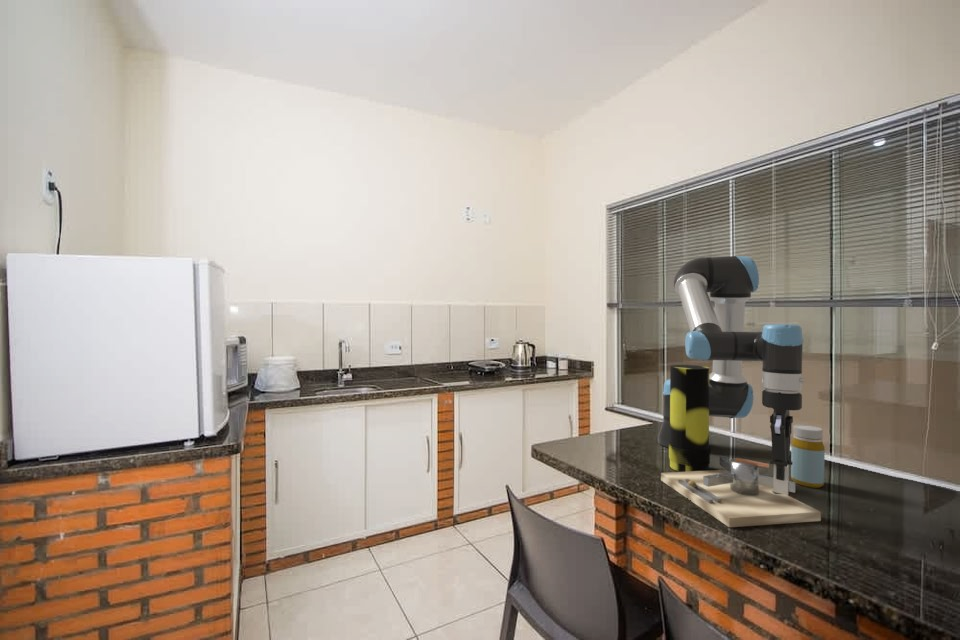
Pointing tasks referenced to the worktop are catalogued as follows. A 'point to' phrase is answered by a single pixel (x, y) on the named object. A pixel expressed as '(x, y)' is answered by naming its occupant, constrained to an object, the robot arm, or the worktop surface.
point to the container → (689, 418)
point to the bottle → (807, 456)
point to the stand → (739, 501)
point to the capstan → (742, 476)
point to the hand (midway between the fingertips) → (780, 492)
